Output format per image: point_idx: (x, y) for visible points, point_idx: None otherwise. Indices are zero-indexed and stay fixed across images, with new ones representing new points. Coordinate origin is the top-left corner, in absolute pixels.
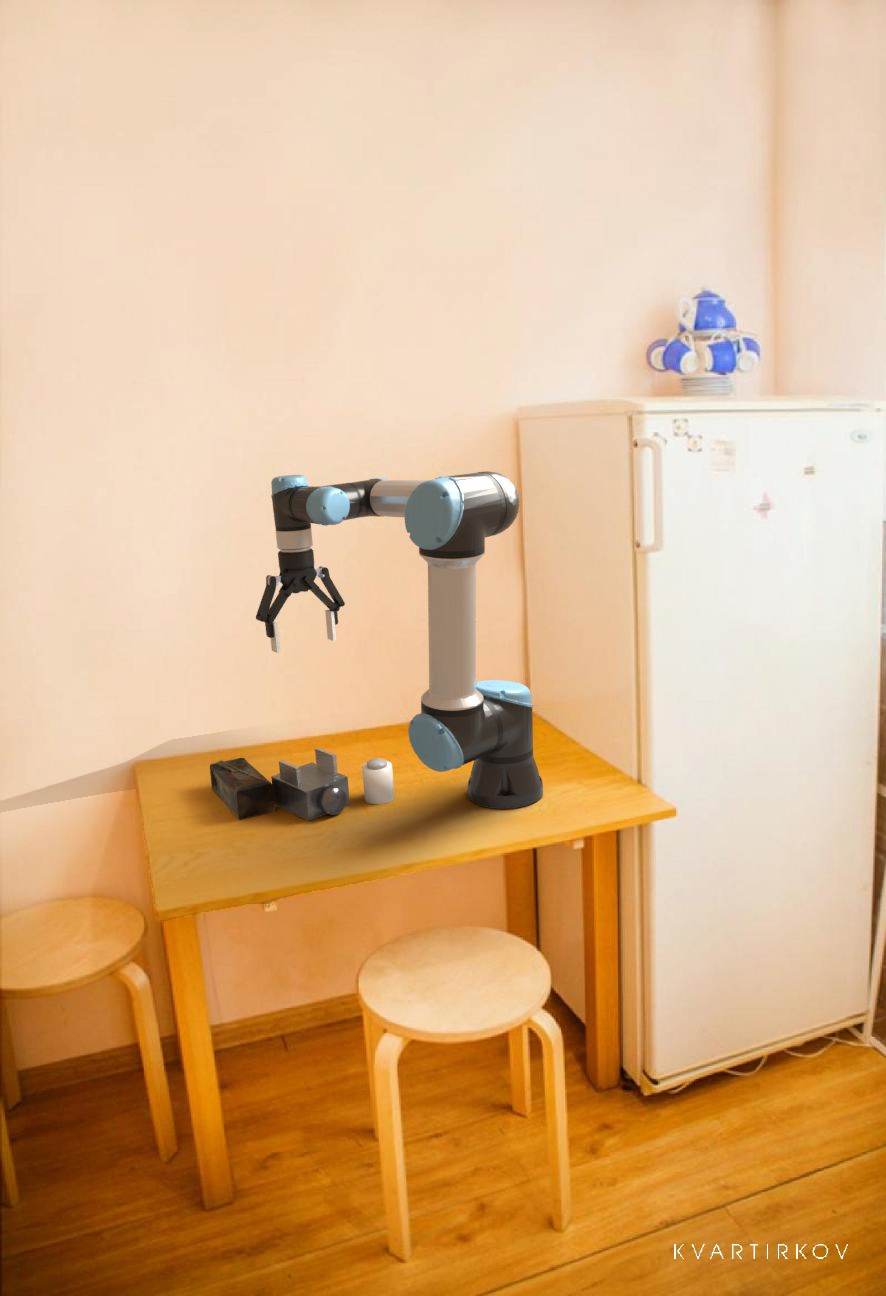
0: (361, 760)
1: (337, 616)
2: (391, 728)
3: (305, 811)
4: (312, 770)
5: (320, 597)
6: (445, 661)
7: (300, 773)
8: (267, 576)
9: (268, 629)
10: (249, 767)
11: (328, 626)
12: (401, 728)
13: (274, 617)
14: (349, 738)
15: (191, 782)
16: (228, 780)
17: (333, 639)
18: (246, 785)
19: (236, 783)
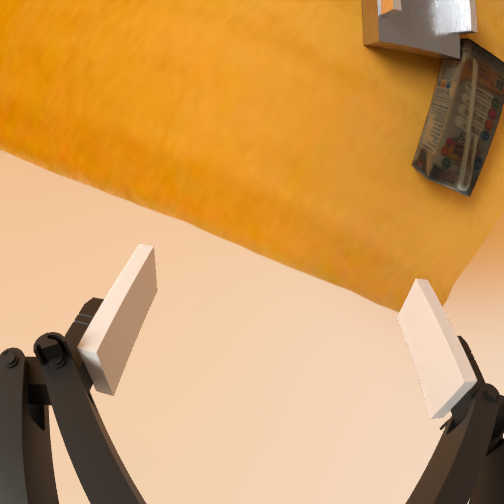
0: (223, 82)
1: (72, 325)
2: (103, 175)
3: None
4: (401, 12)
5: (124, 474)
6: None
7: (423, 22)
8: None
9: (477, 366)
10: (451, 129)
11: (136, 318)
12: (92, 164)
13: (480, 408)
14: (177, 187)
15: (447, 225)
16: (499, 112)
17: (151, 249)
18: (498, 69)
19: (501, 89)
